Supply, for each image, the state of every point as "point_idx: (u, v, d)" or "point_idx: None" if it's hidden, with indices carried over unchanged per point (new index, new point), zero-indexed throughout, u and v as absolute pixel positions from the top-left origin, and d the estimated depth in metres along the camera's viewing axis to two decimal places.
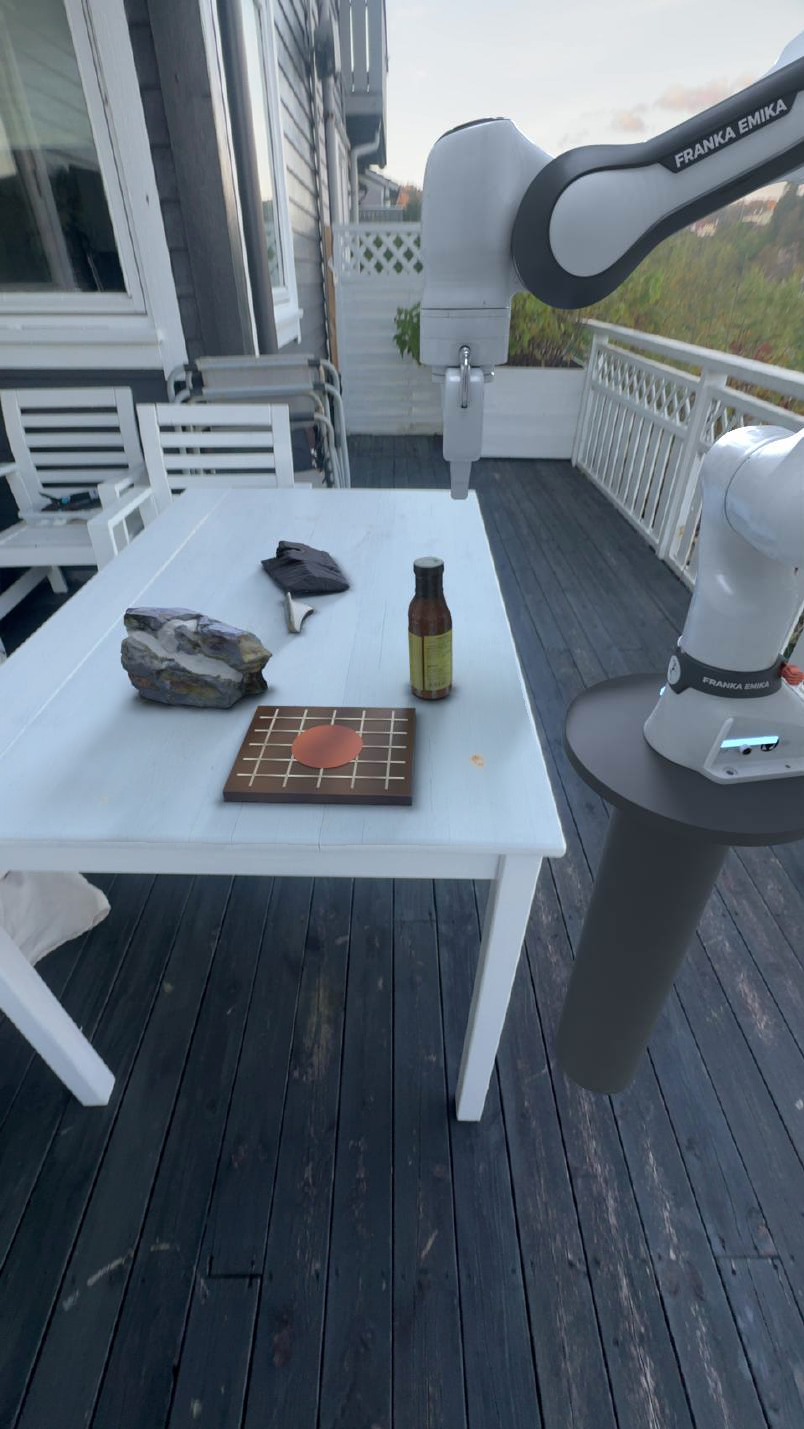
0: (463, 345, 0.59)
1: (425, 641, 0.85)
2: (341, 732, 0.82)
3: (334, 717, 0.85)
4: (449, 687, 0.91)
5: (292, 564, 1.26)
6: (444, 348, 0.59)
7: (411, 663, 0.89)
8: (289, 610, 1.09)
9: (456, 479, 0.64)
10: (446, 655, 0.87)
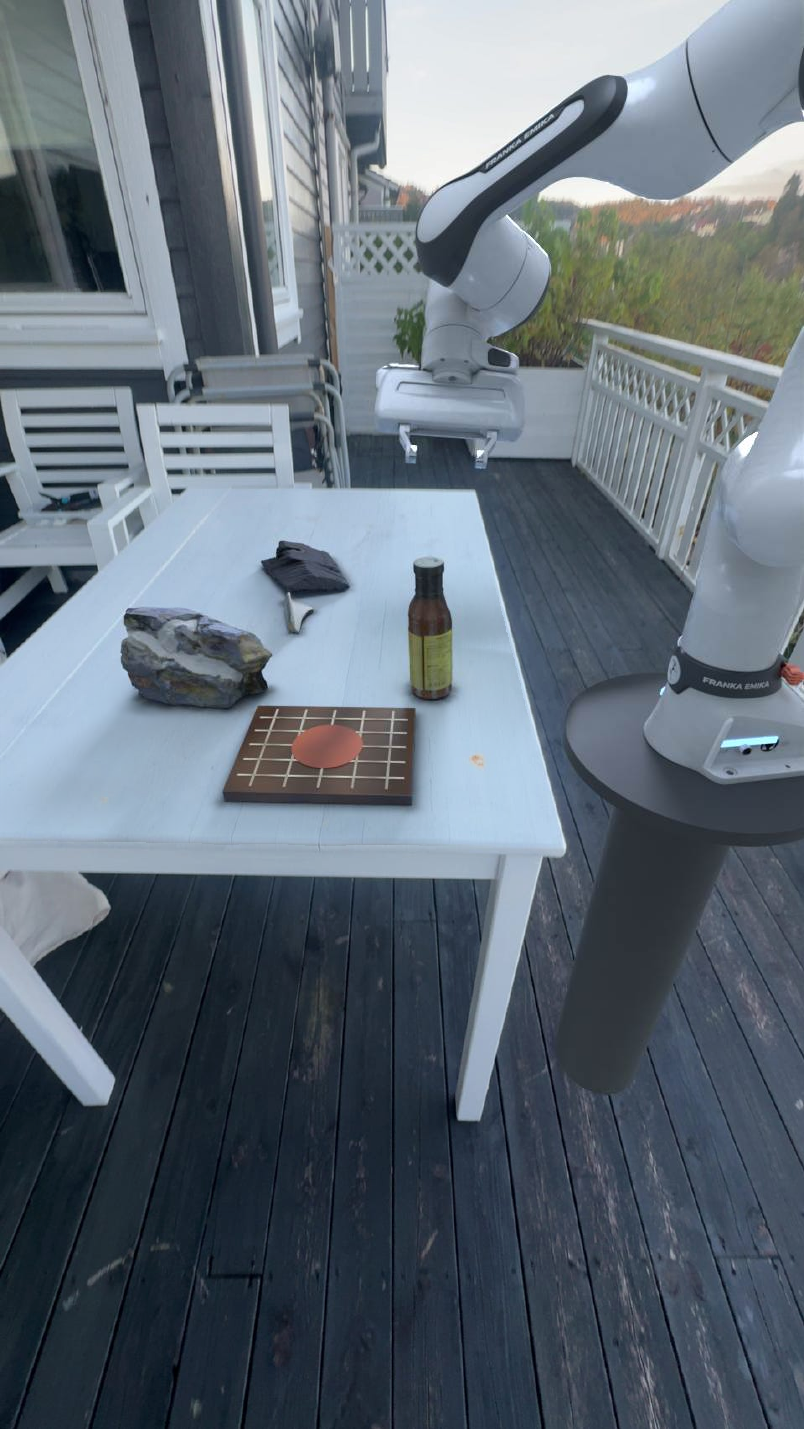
0: None
1: (425, 641, 0.85)
2: (341, 732, 0.82)
3: (334, 717, 0.85)
4: (449, 687, 0.91)
5: (292, 564, 1.26)
6: None
7: (411, 663, 0.89)
8: (289, 610, 1.09)
9: (404, 447, 0.84)
10: (446, 655, 0.87)
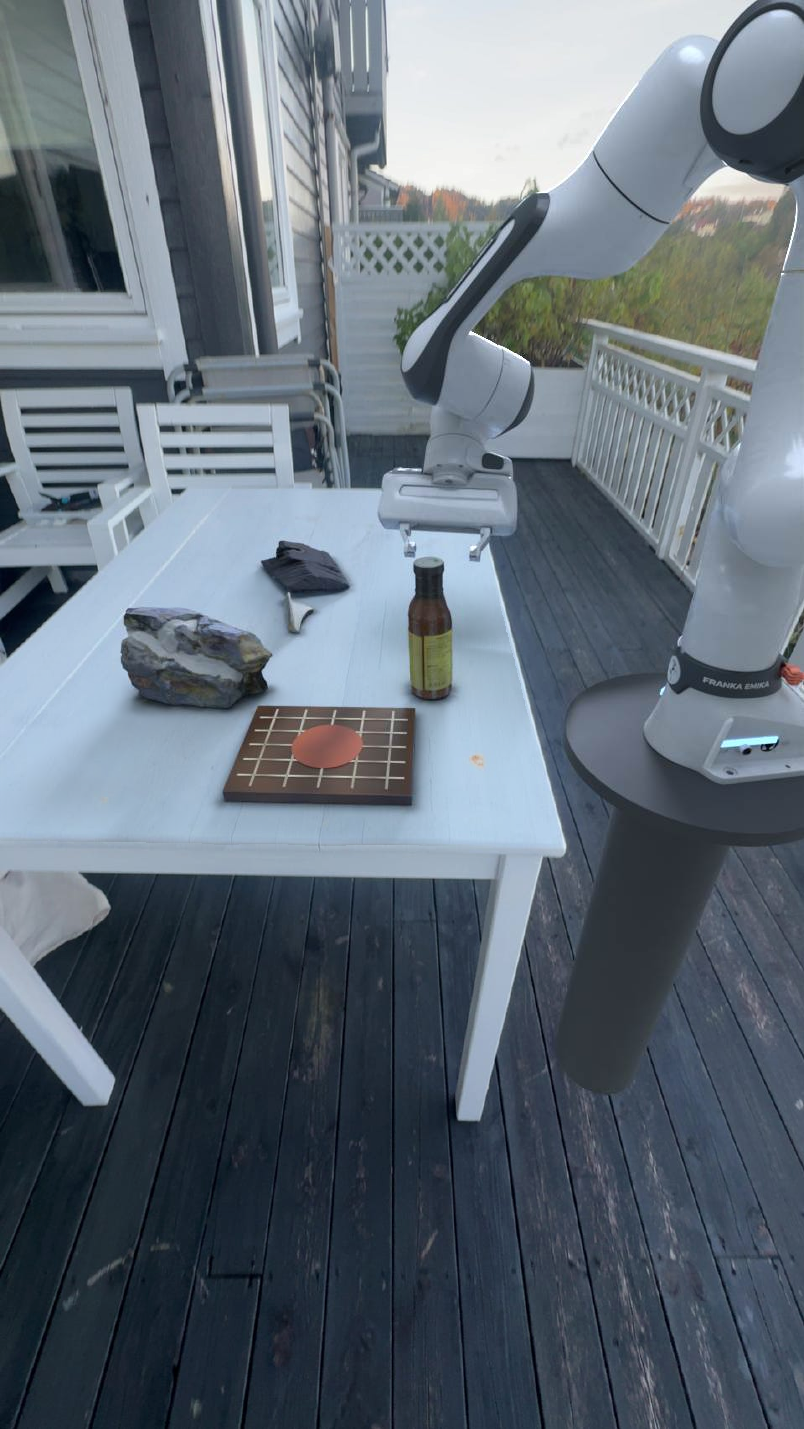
0: (423, 469, 0.93)
1: (425, 641, 0.85)
2: (341, 732, 0.82)
3: (334, 717, 0.85)
4: (449, 687, 0.91)
5: (292, 564, 1.26)
6: None
7: (411, 663, 0.89)
8: (289, 610, 1.09)
9: (404, 542, 0.91)
10: (446, 655, 0.87)
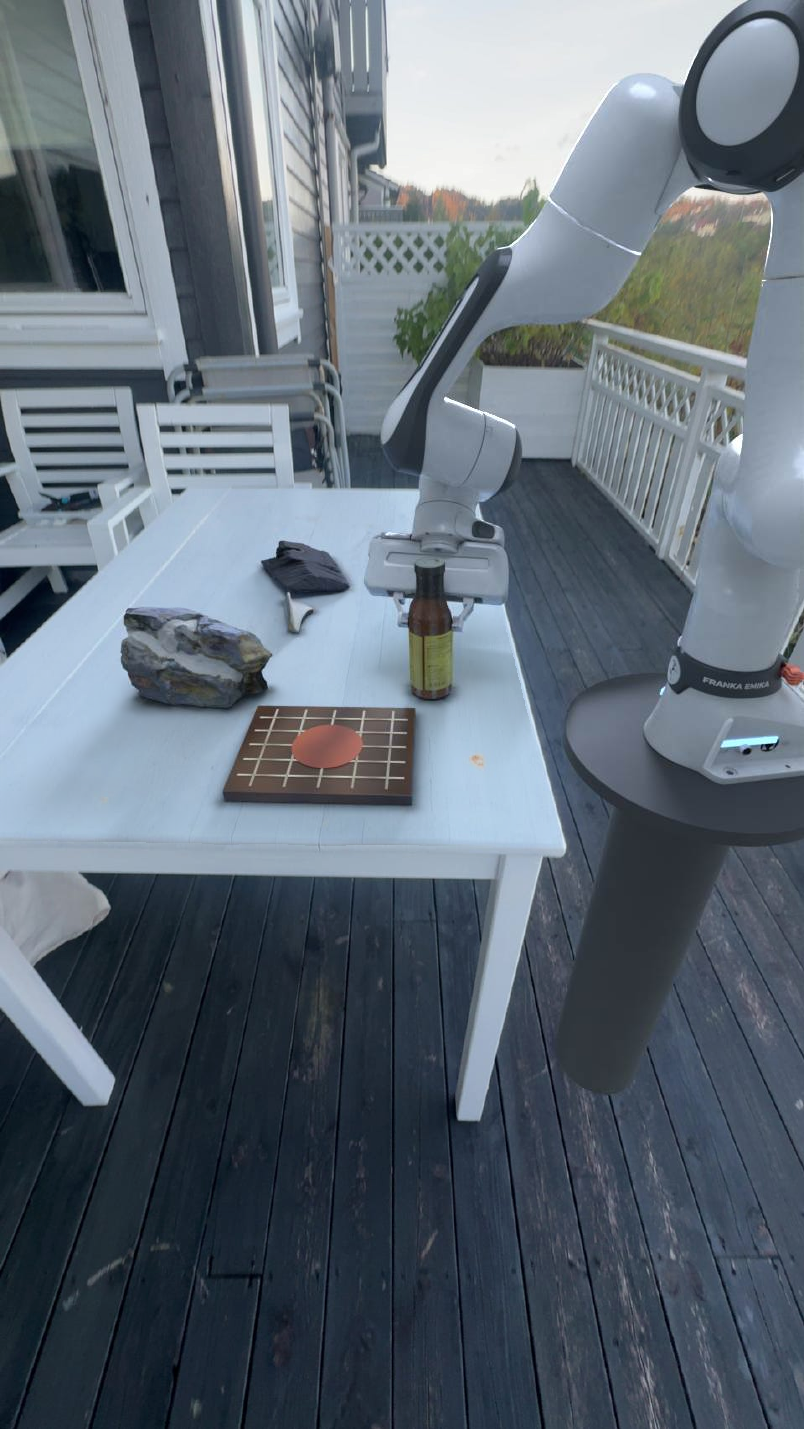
0: (412, 534, 0.90)
1: (425, 641, 0.85)
2: (341, 732, 0.82)
3: (334, 717, 0.85)
4: (449, 687, 0.91)
5: (292, 564, 1.26)
6: None
7: (412, 663, 0.89)
8: (289, 610, 1.09)
9: None
10: (446, 655, 0.87)
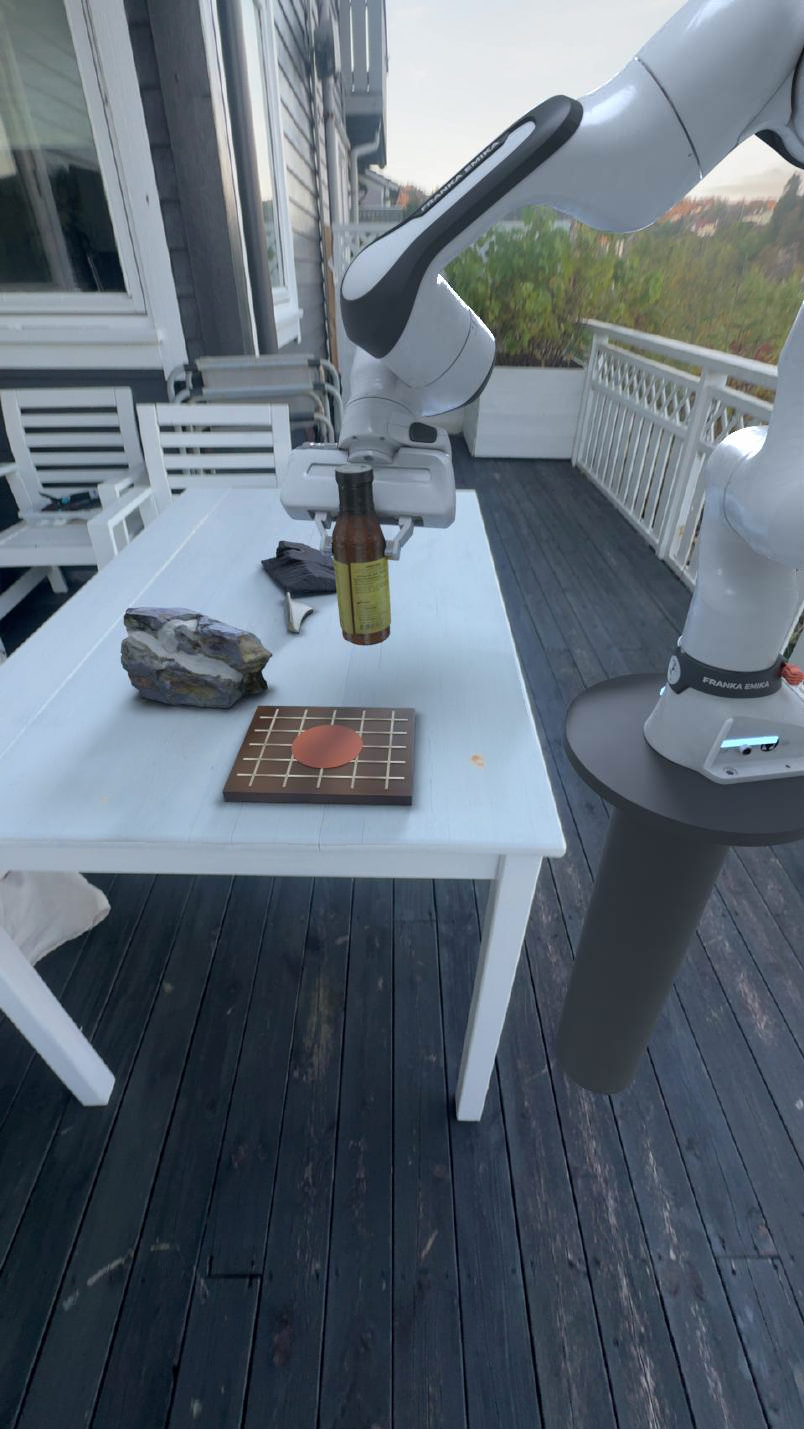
0: None
1: (352, 570, 0.69)
2: (341, 732, 0.82)
3: (334, 717, 0.85)
4: (386, 631, 0.75)
5: (292, 564, 1.26)
6: None
7: (339, 600, 0.73)
8: (288, 610, 1.09)
9: None
10: (379, 589, 0.71)
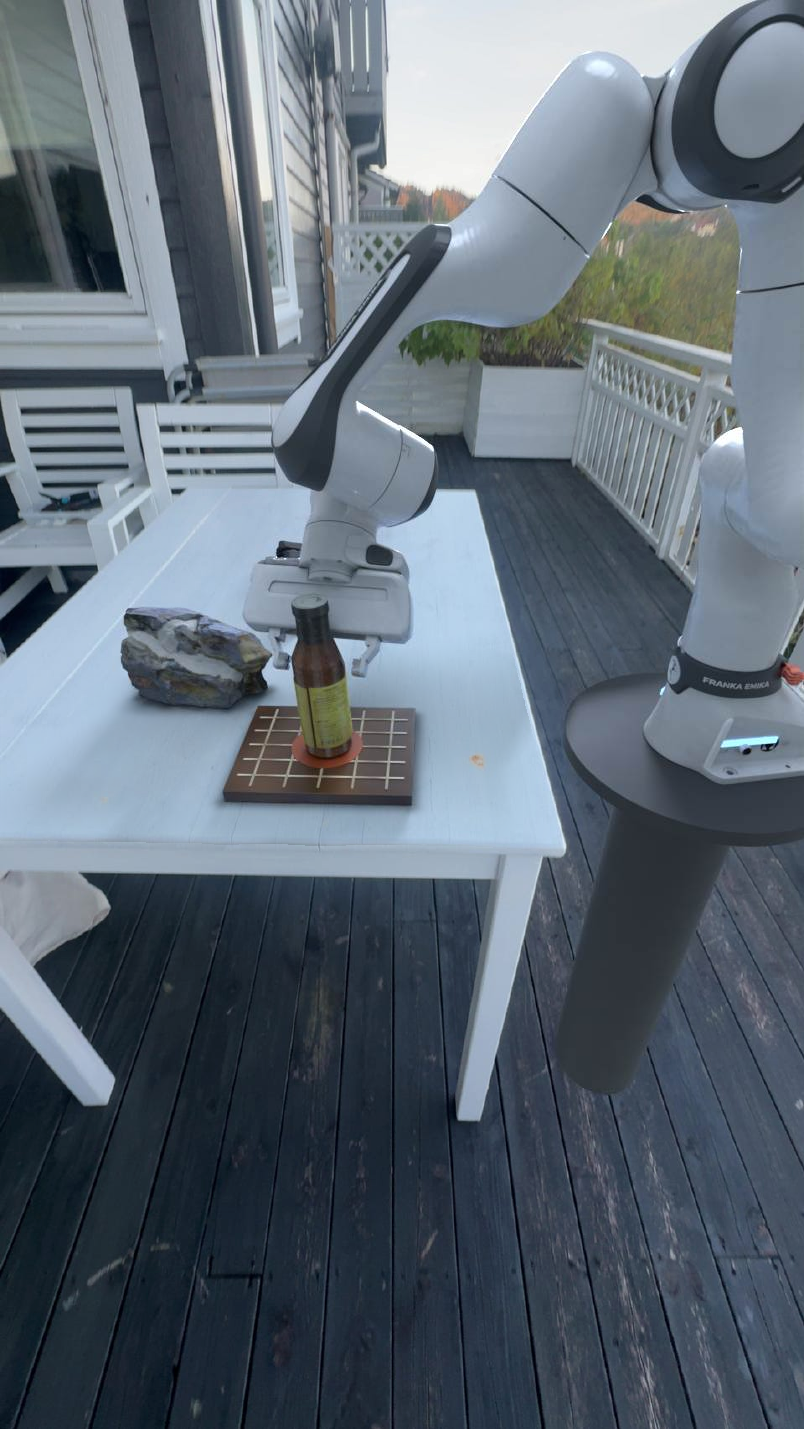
0: None
1: (310, 693, 0.71)
2: None
3: None
4: (348, 743, 0.77)
5: None
6: None
7: (300, 717, 0.75)
8: None
9: None
10: (338, 708, 0.73)
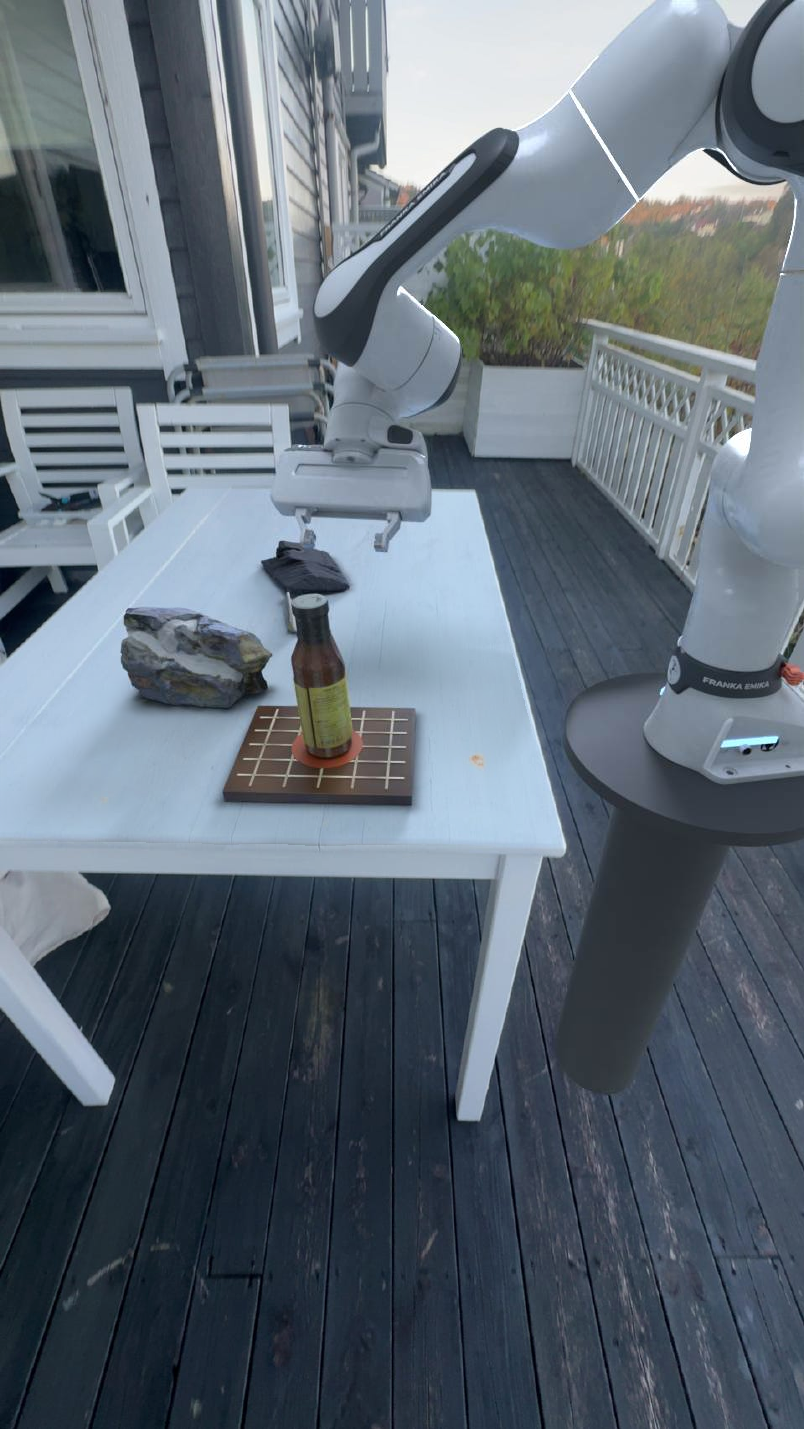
0: None
1: (310, 693, 0.71)
2: None
3: None
4: (348, 743, 0.77)
5: (292, 564, 1.26)
6: None
7: (300, 717, 0.75)
8: (288, 610, 1.09)
9: None
10: (338, 708, 0.73)
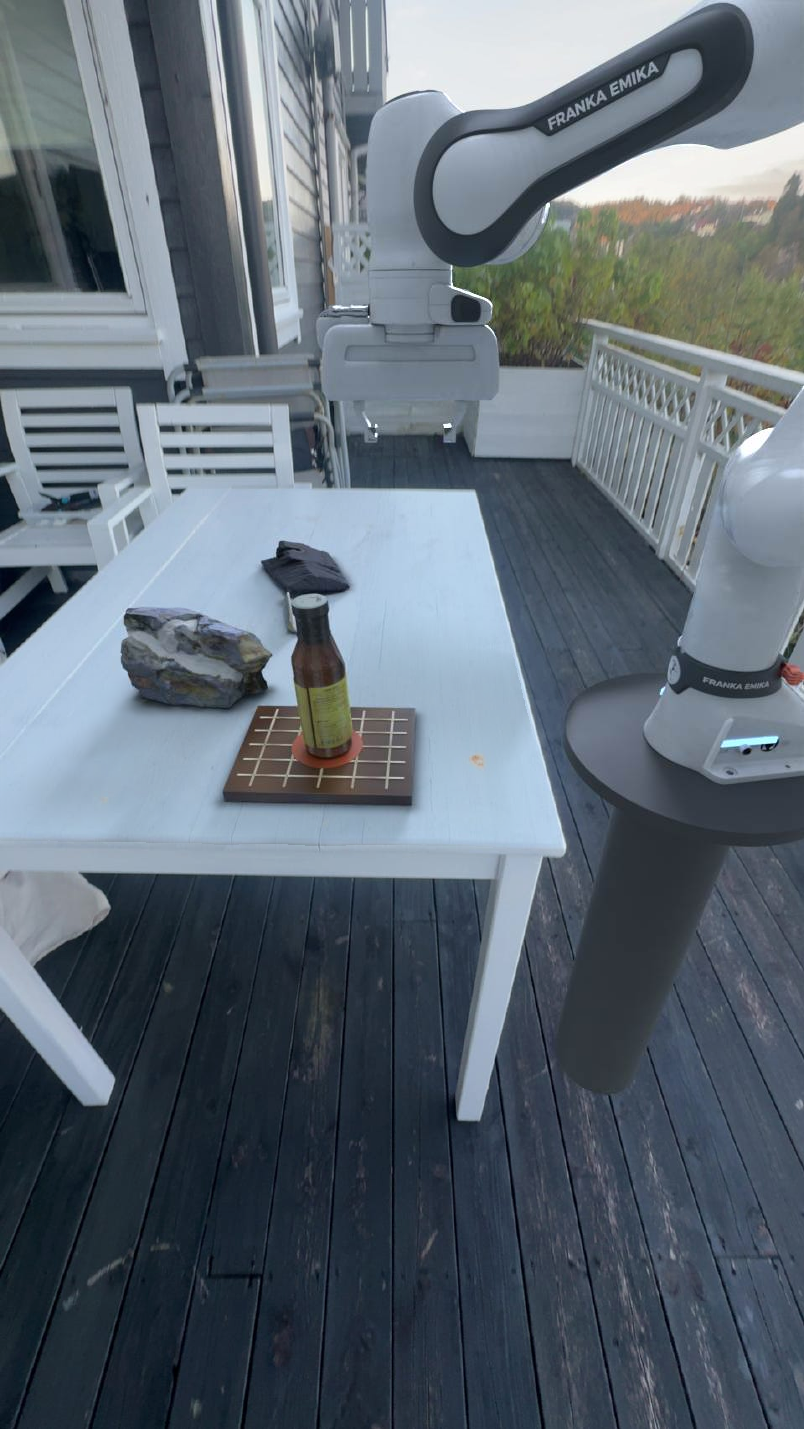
0: (369, 303, 0.68)
1: (310, 693, 0.71)
2: None
3: None
4: (348, 743, 0.77)
5: (292, 564, 1.26)
6: None
7: (300, 717, 0.75)
8: (288, 610, 1.09)
9: None
10: (338, 708, 0.73)
